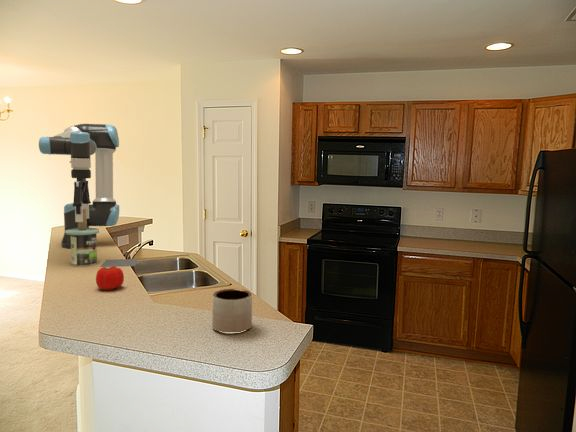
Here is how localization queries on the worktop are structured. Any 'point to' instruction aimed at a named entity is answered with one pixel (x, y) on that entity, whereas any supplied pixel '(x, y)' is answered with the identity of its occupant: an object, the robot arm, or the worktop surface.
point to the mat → (119, 262)
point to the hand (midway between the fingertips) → (82, 220)
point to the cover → (82, 228)
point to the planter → (232, 310)
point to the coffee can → (83, 250)
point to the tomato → (109, 278)
